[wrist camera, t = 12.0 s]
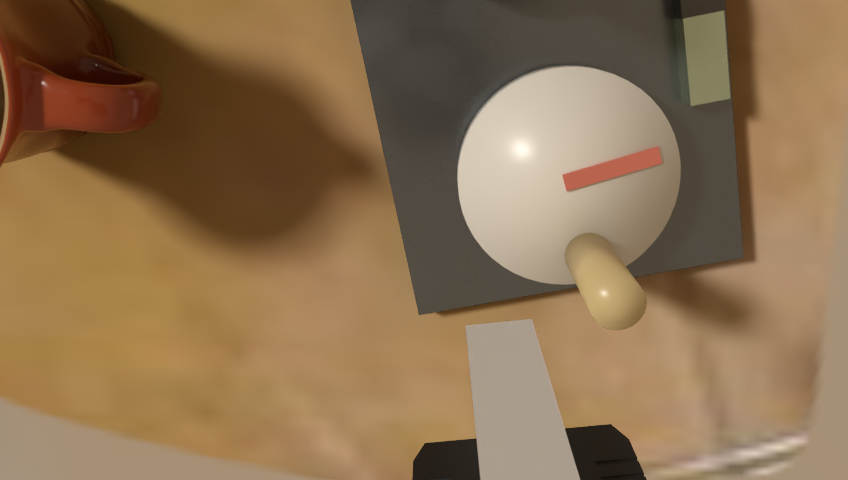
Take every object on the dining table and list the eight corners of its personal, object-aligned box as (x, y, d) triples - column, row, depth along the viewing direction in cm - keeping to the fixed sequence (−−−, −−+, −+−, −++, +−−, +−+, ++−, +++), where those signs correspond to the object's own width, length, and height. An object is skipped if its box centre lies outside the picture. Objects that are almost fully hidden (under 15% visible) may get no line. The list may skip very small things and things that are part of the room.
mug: (-52, 140, 33) (-258, 194, 23) (-60, -63, 31) (-295, -99, 21) (208, 182, 34) (113, 252, 24) (223, -15, 31) (122, -28, 21)
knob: (489, 295, 33) (502, 367, 27) (430, 102, 31) (427, 128, 24) (687, 239, 32) (753, 299, 26) (644, 35, 30) (703, 42, 23)
